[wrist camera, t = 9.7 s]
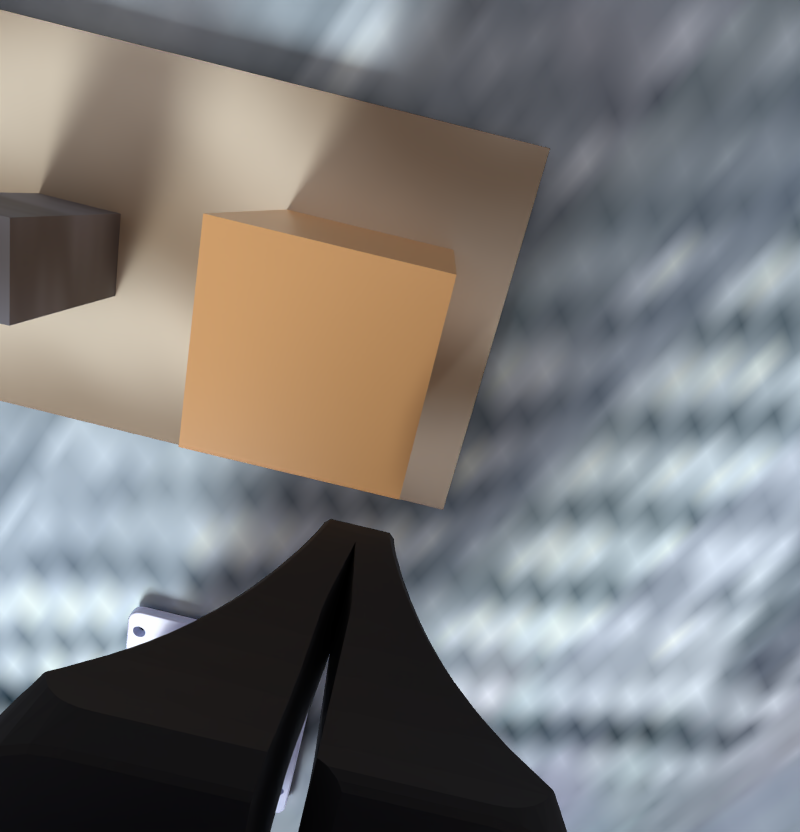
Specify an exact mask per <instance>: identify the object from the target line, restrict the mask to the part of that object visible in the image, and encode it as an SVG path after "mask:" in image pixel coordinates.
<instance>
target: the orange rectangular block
mask: <svg viewBox="0 0 800 832" xmlns="http://www.w3.org/2000/svg"><path fill="white" fill-rule="evenodd" d="M456 275H457V273H456V265H455V257H454V250H452V249H448V248H444V247H440V246H435V245H431V244H427V243H423V242H419V241H415V240H411V239H407V238H402V237H398V236H394V235H390V234H386V233H382V232H378V231H373V230H369V229H365V228H361V227H357V226H353V225H349V224H345V223H340V222H336V221H332V220H328V219H324V218H320V217H316V216H312V215H307V214H303V213H299V212H295V211H291V210H287V209H286V210H265V211H243V212H222V213H203V220H202V229H201V239H200V248H199V258H198V267H197V277H196V286H195V296H194V305H193V315H192V324H191V334H190V343H189V353H188V362H187V372H186V381H185V391H184V400H183V410H182V419H181V429H180V438H179V447H181V448H186V449H190V450H194V451H198V452H202V453H207V454H211V455H215V456H219V457H223V458H227V459H232V460H236V461H240V462H244V463H248V464H252V465H257V466H261V467H265V468H269V469H273V470H277V471H282V472H286V473H290V474H294V475H298V476H303V477H307V478H311V479H315V480H319V481H323V482H328V483H332V484H336V485H340V486H344V487H348V488H353V489H357V490H361V491H365V492H369V493H374V494H378V495H382V496H386V497H390V498H394V499H399V498H400V494H401V491H402V487H403V483H404V479H405V475H406V471H407V467H408V463H409V459H410V455H411V451H412V448H413V444H414V440H415V436H416V432H417V428H418V424H419V420H420V416H421V412H422V408H423V404H424V401H425V397H426V393H427V389H428V385H429V381H430V377H431V373H432V369H433V365H434V361H435V358H436V354H437V350H438V346H439V342H440V338H441V334H442V330H443V326H444V322H445V318H446V315H447V311H448V307H449V303H450V299H451V295H452V291H453V287H454V283H455V279H456Z"/></svg>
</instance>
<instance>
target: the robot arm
mask: <svg viewBox="0 0 800 832" xmlns="http://www.w3.org/2000/svg"><path fill="white" fill-rule="evenodd" d="M139 627H141V628H143V629H144V630H141V629H140V628H139ZM329 654H330V656H329ZM328 657H329V662H328V669H327V676H326V683H325V689H324V696H323V703H322V710H321V717H320V724H319V731H318V737H317V744H316V751H315V758H314V763H313V769H312V774H311V779H310V784H309V789H308V793H307V797H306V801H305V806H304V810H303V814H302V818H301V822H300V827H299V831H298V832H567V830H566V827H565V824H564V821H563V818H562V815H561V812H560V808H559V805H558V802H557V799H556V796H555V793H554V791H553V790H552V789H551V788H550V787H549V786H548V785H547V784H546V783H545V782H544V781H543V780H542V779H541V778H540V777H539V776H538V775H537V774H535V773H534V772H533V771H532V770H531V769H530V768H529V767H528V766H527V765H526V764H525V763H524V762H523V761H522V760H521V759H520V758H519V757H518V756H517V755H515V754H514V753H513V752H512V751H511V750H510V749H509V748H508V747H507V746H506V745H505V743H504V742H503V741H502V740H501V739H500V738H499V737H498V736H497V735H496V733H495V732H494V731H493V730H492V729H491V728H490V727H489V726H488V725H487V723H486V722H485V721H484V720H483V719H482V718H481V716H480V715H479V714H478V713H477V712H476V710H475V709H474V708H473V707H472V705H471V704H470V703H469V701H468V700H467V699H466V697H465V696H464V695H463V693H462V692H461V691H460V689H459V688H458V687H457V685H456V684H455V683H454V681H453V680H452V678H451V677H450V675H449V674H448V672H447V670H446V669H445V667H444V666H443V664H442V662H441V661H440V659H439V657H438V656H437V654H436V652H435V650H434V649H433V647H432V645H431V643H430V641H429V639H428V637H427V635H426V633H425V631H424V629H423V627H422V625H421V623H420V621H419V619H418V616H417V614H416V612H415V610H414V607H413V605H412V602H411V600H410V597H409V594H408V592H407V589H406V586H405V584H404V581H403V578H402V575H401V571H400V568H399V564H398V561H397V557H396V552H395V547H394V539H393V537H392V536H391V534H390V533H387V532H383V531H379V530H375V529H371V528H366V527H362V526H358V525H354V524H349V523H345V522H341V521H337V520H333V519H330V520H328V521H327V522H325V523H324V524H323V525H322V526H321V528H320V529H319V530H318V531H317V532H316V533H315V534H314V535H313V536H312V537H311V538H310V539H309V540H308V541H307V542H306V543H305V544H304V545H303V546H302V547H301V548H300V549H299V550H298V551H297V552H296V553H294V554H293V555H292V556H291V557H290V558H289V559H288V560H286V561H285V562H284V563H283V564H282V565H281V566H279V567H278V568H277V569H276V570H274V571H273V572H272V573H270V574H269V575H268V576H266V577H265V578H264V579H262V580H261V581H260V582H258V583H257V584H256V585H254V586H253V587H251V588H250V589H249V590H247V591H246V592H244V593H243V594H241V595H240V596H238V597H236V598H235V599H233V600H232V601H230V602H228V603H227V604H225V605H223V606H222V607H220V608H218V609H216V610H215V611H213V612H211V613H209V614H207V615H205V616H203V617H201V618H199V619H198V620H197V619H193V618H189V617H185V616H180V615H176V614H172V613H168V612H164V611H160V610H156V609H152V608H148V607H137V608H136V609H134V610H133V612H132V613H131V614H130V616H129V621H128V631H127V642H126V649H125V650H122V651H119V652H116V653H113V654H110V655H107V656H103V657H99V658H96V659H92V660H89V661H85V662H81V663H78V664H74V665H71V666H67V667H63V668H60V669H56V670H51V671H47V672H45V673H43V674H42V675H41V676H40V677H39V678H38V679H37V680H36V681H35V682H34V683H33V684H32V685H31V686H30V687H29V688H28V689H27V690H26V691H24V692H23V693H22V694H21V695H20V696H19V697H18V698H17V699H16V700H15V701H14V702H13V703H12V704H11V705H10V706H9V707H8V708H7V709H6V710H5V711H4V712H3V713H2V714H1V715H0V832H270V830H271V827H272V823H273V819H274V816H275V813H279V812H282V811H283V810H284V809H285V807H286V803H287V799H288V795H289V791H290V787H291V783H292V778H293V774H294V770H295V766H296V762H297V757H298V753H299V749H300V745H301V741H302V736H303V732H304V728H305V724H306V720H307V715H308V711H309V708H310V706H311V703H312V700H313V697H314V695H315V692H316V689H317V687H318V684H319V681H320V678H321V676H322V673H323V670H324V668H325V665H326V662H327V659H328Z"/></svg>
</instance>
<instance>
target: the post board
mask: <svg viewBox="0 0 800 832" xmlns="http://www.w3.org/2000/svg"><path fill="white" fill-rule="evenodd" d="M549 150H550V148H546V147H542V146H538V145H534V144H530V143H526V142H522V141H518V140H514V139H510V138H506V137H502V136H499V135H495V134H491V133H487V132H483V131H479V130H475V129H471V128H467V127H463V126H459V125H455V124H451V123H447V122H443V121H439V120H435V119H431V118H427V117H423V116H419V115H415V114H411V113H407V112H403V111H400V110H396V109H392V108H388V107H384V106H380V105H376V104H372V103H368V102H364V101H360V100H356V99H352V98H348V97H344V96H340V95H336V94H332V93H328V92H324V91H320V90H316V89H312V88H308V87H305V86H301V85H297V84H293V83H289V82H285V81H281V80H277V79H273V78H269V77H265V76H261V75H257V74H253V73H249V72H245V71H241V70H237V69H233V68H229V67H225V66H221V65H217V64H213V63H210V62H206V61H202V60H198V59H194V58H190V57H186V56H182V55H178V54H174V53H170V52H166V51H162V50H158V49H154V48H150V47H146V46H142V45H138V44H134V43H130V42H126V41H122V40H118V39H114V38H111V37H107V36H103V35H99V34H95V33H91V32H87V31H83V30H79V29H75V28H71V27H67V26H63V25H59V24H55V23H51V22H47V21H43V20H39V19H35V18H31V17H27V16H23V15H19V14H16V13H12V12H8V11H4V10H0V401H4V402H8V403H12V404H16V405H20V406H24V407H28V408H32V409H36V410H41V411H45V412H49V413H53V414H57V415H61V416H65V417H69V418H73V419H77V420H81V421H85V422H89V423H93V424H97V425H101V426H105V427H109V428H113V429H118V430H122V431H126V432H130V433H134V434H138V435H142V436H146V437H150V438H154V439H158V440H162V441H166V442H170V443H174V444H178V445H179V438H180V429H181V419H182V410H183V400H184V391H185V381H186V372H187V362H188V353H189V343H190V334H191V324H192V315H193V305H194V296H195V286H196V277H197V267H198V258H199V248H200V239H201V229H202V220H203V213H222V212H243V211H265V210H286V209H287V210H291V211H295V212H299V213H303V214H307V215H312V216H316V217H320V218H324V219H328V220H332V221H336V222H340V223H345V224H349V225H353V226H357V227H361V228H365V229H369V230H373V231H378V232H382V233H386V234H390V235H394V236H398V237H402V238H407V239H411V240H415V241H419V242H423V243H427V244H431V245H435V246H440V247H444V248H448V249H452V250H454V257H455V265H456V273H457V275H456V279H455V283H454V287H453V291H452V295H451V299H450V303H449V307H448V311H447V315H446V318H445V322H444V326H443V330H442V334H441V338H440V342H439V346H438V350H437V354H436V358H435V361H434V365H433V369H432V373H431V377H430V381H429V385H428V389H427V393H426V397H425V401H424V404H423V408H422V412H421V416H420V420H419V424H418V428H417V432H416V436H415V440H414V444H413V448H412V451H411V455H410V459H409V463H408V467H407V471H406V475H405V479H404V483H403V487H402V491H401V494H400V498H399V499H401V500H405V501H409V502H414V503H418V504H422V505H426V506H430V507H434V508H438V509H442V510H443V508H444V505H445V501H446V498H447V495H448V491H449V488H450V485H451V481H452V478H453V474H454V471H455V468H456V464H457V461H458V458H459V454H460V451H461V447H462V444H463V441H464V437H465V434H466V431H467V427H468V424H469V420H470V417H471V414H472V410H473V407H474V404H475V400H476V397H477V393H478V390H479V387H480V383H481V380H482V377H483V373H484V370H485V366H486V363H487V360H488V356H489V353H490V349H491V346H492V343H493V339H494V336H495V333H496V329H497V326H498V322H499V319H500V316H501V312H502V309H503V306H504V302H505V299H506V295H507V292H508V289H509V285H510V282H511V279H512V275H513V272H514V268H515V265H516V262H517V258H518V255H519V252H520V248H521V245H522V241H523V238H524V235H525V231H526V228H527V225H528V221H529V218H530V214H531V211H532V208H533V204H534V201H535V198H536V194H537V191H538V187H539V184H540V181H541V177H542V174H543V171H544V167H545V164H546V160H547V157H548V154H549Z"/></svg>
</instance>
